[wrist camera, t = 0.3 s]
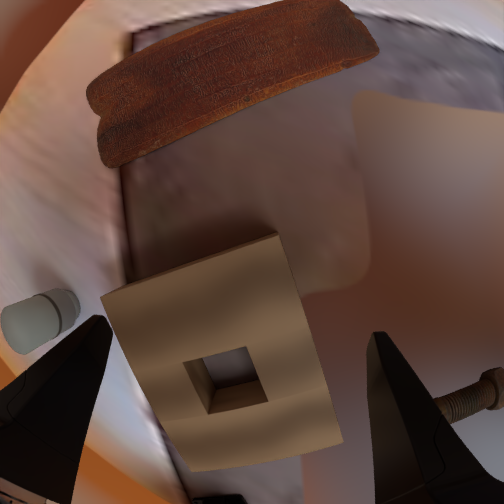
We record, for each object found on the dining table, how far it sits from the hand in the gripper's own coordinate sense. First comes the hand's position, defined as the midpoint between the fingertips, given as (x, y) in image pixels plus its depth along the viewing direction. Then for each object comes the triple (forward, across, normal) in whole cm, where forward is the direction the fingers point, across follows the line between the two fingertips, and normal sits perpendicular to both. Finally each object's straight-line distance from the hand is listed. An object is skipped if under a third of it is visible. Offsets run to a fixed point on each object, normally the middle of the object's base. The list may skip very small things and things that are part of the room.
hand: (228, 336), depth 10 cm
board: (+9, +3, +15) cm, 17 cm away
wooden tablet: (+22, +3, -7) cm, 23 cm away
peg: (+10, +19, +11) cm, 24 cm away
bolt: (+8, -21, +20) cm, 30 cm away
